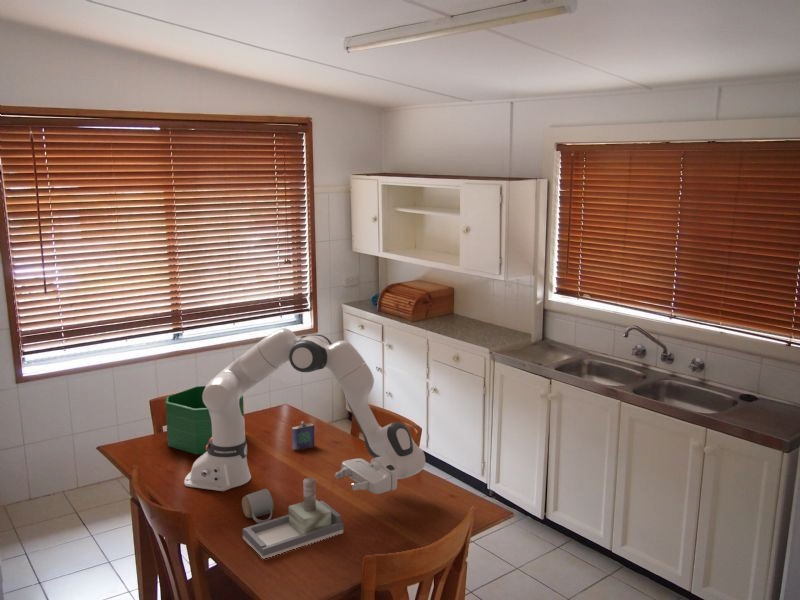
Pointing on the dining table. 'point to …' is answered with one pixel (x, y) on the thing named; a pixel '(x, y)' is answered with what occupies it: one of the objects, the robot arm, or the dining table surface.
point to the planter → (189, 420)
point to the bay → (287, 534)
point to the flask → (303, 436)
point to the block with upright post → (309, 510)
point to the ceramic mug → (258, 505)
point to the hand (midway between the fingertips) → (344, 481)
